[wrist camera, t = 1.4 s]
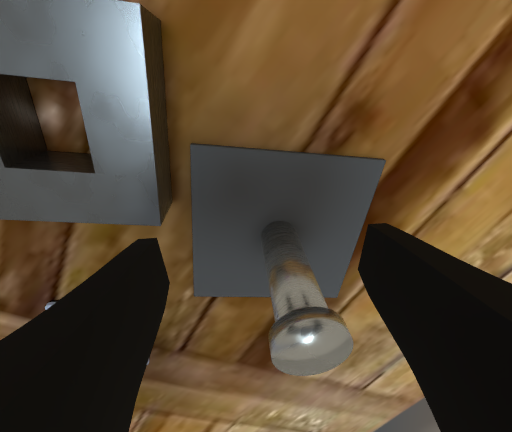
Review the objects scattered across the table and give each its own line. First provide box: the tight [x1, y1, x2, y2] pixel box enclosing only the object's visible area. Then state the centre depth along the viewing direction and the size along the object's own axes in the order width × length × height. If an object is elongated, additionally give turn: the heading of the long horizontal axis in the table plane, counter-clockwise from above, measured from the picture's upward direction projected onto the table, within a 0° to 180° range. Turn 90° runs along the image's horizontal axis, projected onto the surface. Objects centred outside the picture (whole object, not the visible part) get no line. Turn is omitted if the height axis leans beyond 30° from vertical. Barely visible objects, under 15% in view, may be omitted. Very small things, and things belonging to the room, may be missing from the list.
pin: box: [261, 221, 353, 376], centre depth 16 cm, size 4×4×10 cm
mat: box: [190, 143, 386, 298], centre depth 21 cm, size 14×14×1 cm
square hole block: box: [0, 0, 172, 226], centre depth 14 cm, size 11×11×4 cm
